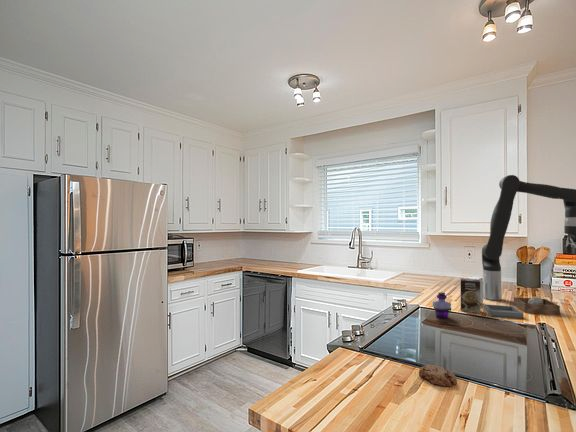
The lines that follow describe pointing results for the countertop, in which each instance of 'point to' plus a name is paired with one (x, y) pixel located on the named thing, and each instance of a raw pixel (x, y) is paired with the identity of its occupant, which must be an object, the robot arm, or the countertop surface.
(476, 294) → the coffee box
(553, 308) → the walnut frame
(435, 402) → the countertop surface
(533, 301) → the frog figurine
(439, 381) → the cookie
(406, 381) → the countertop surface
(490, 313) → the charcoal tray
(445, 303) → the potion bottle
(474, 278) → the skincare box
